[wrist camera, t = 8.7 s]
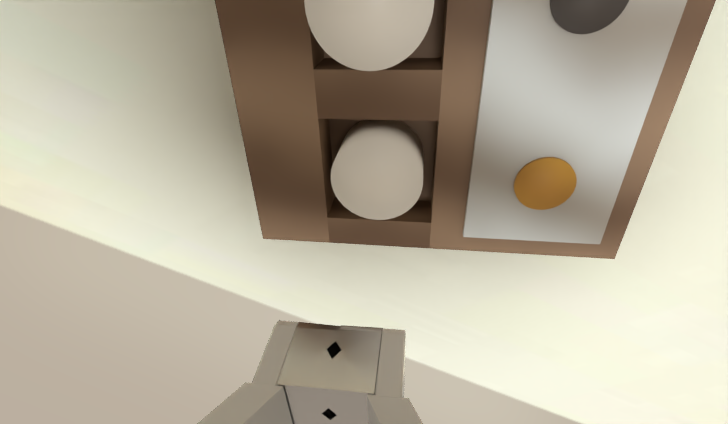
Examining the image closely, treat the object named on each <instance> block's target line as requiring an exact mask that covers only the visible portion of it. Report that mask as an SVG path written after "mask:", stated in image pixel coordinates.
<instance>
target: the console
mask: <svg viewBox="0 0 728 424" xmlns="http://www.w3.org/2000/svg"><path fill="white" fill-rule="evenodd" d="M715 1H716V0H434V9H433V15H432V19H431V23H430V26H429V28H428V31H427V33H426V35H425V37H424V39H423V40H422V42H421V43H420V45H419V46H418V47H417V48H416V50H415V51H414V52H413V53H412V54H411V55H410V56H408V57H407V58H406V59H405V60H403V61H402V62H400V63H399V64H397V65H395V66H393V67H390V68H387V69H383V70H378V71H361V70H356V69H352V68H349V67H347V66H345V65H343V64H341V63H339V62H337V61H336V60H334V59H333V58H332V57H331V56H329V55H328V54H327V53H326V52H325V51H324V50H323V48H322V47H321V46H320V45H319V43H318V42H317V40H316V39H315V37H314V35H313V33H312V31H311V29H310V26H309V24H308V20H307V17H306V12H305V5H304V0H215V3H216V8H217V13H218V18H219V23H220V28H221V33H222V38H223V43H224V48H225V52H226V57H227V62H228V67H229V72H230V77H231V82H232V87H233V92H234V97H235V102H236V107H237V112H238V117H239V122H240V127H241V131H242V136H243V141H244V146H245V151H246V156H247V161H248V166H249V171H250V176H251V181H252V186H253V191H254V196H255V201H256V205H257V210H258V215H259V220H260V225H261V230H262V235H263V239H279V240H296V241H314V242H331V243H348V244H366V245H383V246H400V247H418V248H435V249H452V250H470V251H487V252H504V253H522V254H539V255H556V256H574V257H591V258H608V259H615V256H616V253H617V251H618V248H619V246H620V243H621V241H622V238H623V236H624V233H625V231H626V228H627V225H628V223H629V220H630V218H631V215H632V213H633V210H634V208H635V205H636V203H637V200H638V197H639V195H640V192H641V190H642V187H643V185H644V182H645V180H646V177H647V174H648V172H649V169H650V167H651V164H652V162H653V159H654V157H655V154H656V152H657V149H658V146H659V144H660V141H661V139H662V136H663V134H664V131H665V129H666V126H667V123H668V121H669V118H670V116H671V113H672V111H673V108H674V106H675V103H676V101H677V98H678V95H679V93H680V90H681V88H682V85H683V83H684V80H685V78H686V75H687V72H688V70H689V67H690V65H691V62H692V60H693V57H694V55H695V52H696V50H697V47H698V44H699V42H700V39H701V37H702V34H703V32H704V29H705V27H706V24H707V22H708V19H709V16H710V14H711V11H712V9H713V6H714V4H715ZM362 120H399V121H401V122H403V123H405V124H406V125H408V126H409V127H410V128H411V129H412V130H413V131H414V132H415V133H416V134H417V136H418V137H419V139H420V141H421V144H422V147H423V153H424V163H423V187H422V191H421V194H420V197H419V199H418V200H417V202H416V203H415V204H414V206H413V207H412V208H411V209H409V210H408V211H407V212H405V213H404V214H402V215H400V216H398V217H395V218H391V219H386V220H373V219H367V218H364V217H361V216H358V215H356V214H354V213H352V212H351V211H349V210H348V209H347V208H345V207H344V206H343V205H342V204H341V202H340V201H339V200H338V198H337V197H336V195H335V193H334V191H333V188H332V185H331V169H332V165H333V163H334V160H335V158H336V156H337V153H338V151H339V149H340V147H341V144H342V142H343V140H344V138H345V136H346V134H347V133H348V131H349V130H350V129H351V128H352V127H353V126H354V125H356V124H357V123H359V122H360V121H362Z"/></svg>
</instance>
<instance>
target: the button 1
mask: <svg viewBox="0 0 728 424" xmlns="http://www.w3.org/2000/svg"><path fill="white" fill-rule="evenodd" d="M423 163H424V153H423V147H422V144H421V141H420V139H419V137H418V136H417V134H416V133H415V132H414V131H413V130H412V129H411V128H410V127H409V126H408V125H406V124H405V123H403V122H401V121H399V120H362V121H360V122H359V123H357V124H356V125H354V126H353V127H352V128H351V129H350V130H349V131H348V133H347V134H346V136H345V138H344V140H343V142H342V144H341V147H340V149H339V151H338V153H337V156H336V158H335V160H334V163H333V165H332V169H331V185H332V188H333V191H334V193H335V195H336V197H337V198H338V200H339V201H340V202H341V204H342V205H343V206H344V207H345V208H347V209H348V210H349V211H351V212H352V213H354V214H356V215H358V216H361V217H364V218H367V219H373V220H386V219H391V218H395V217H398V216H400V215H402V214H404V213H405V212H407V211H408V210H409V209H411V208H412V207H413V206H414V204H415V203H416V202H417V200H418V199H419V197H420V194H421V191H422V187H423Z"/></svg>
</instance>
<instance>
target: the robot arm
mask: <svg viewBox="0 0 728 424" xmlns="http://www.w3.org/2000/svg"><path fill="white" fill-rule="evenodd" d="M404 374H405V330H396V329H383V328H374V327H357V326H333V325H323V324H313V323H303V322H292V321H291V322H290V321H280V320H279V321H278V322H277V323H276V325H275V326H274V328H273V330H272V333H271V335H270V338H269V340H268V343H267V346H266V348H265V351H264V353H263V356H262V358H261V361H260V363H259V366H258V368H257V371H256V374H255V376H254V378H253V381H252V383H244V384H243V385H242V386H241V387H240V388H239V389H238V390H236V391H235V392H234V393H233V394H231V395H230V396H229V397H228V398H227V399H226V400H224V401H223V402H222V403H221V404H220V405H219V406H217V407H216V408H215V409H214V410H213V411H211V412H210V414H208V415H207V416H206V417H205V418H203V419H202V420H201V421H200V422H199V423H197V424H423V423H422V421H421V419H420V418H419V416H418V414H417V412H416V411H415V409H414V407H413V405H412V404H411V402H410V400H409V398H404Z"/></svg>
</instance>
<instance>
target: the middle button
mask: <svg viewBox="0 0 728 424" xmlns="http://www.w3.org/2000/svg"><path fill="white" fill-rule="evenodd" d="M304 5H305V12H306V17H307V20H308V24H309V26H310V29H311V31H312V33H313V35H314V37H315V39H316V40H317V42H318V43H319V45H320V46H321V47H322V48H323V50H324V51H325V52H326V53H327V54H328V55H329V56H331V57H332V58H333V59H334V60H336V61H337V62H339V63H341V64H343V65H345V66H347V67H349V68H352V69H356V70H361V71H378V70H383V69H387V68H390V67H393V66H395V65H397V64H399V63H400V62H402V61H403V60H405V59H406V58H407V57H408V56H410V55H411V54H412V53H413V52H414V51H415V50H416V48H417V47H418V46H419V45H420V43H421V42H422V40H423V39H424V37H425V35H426V33H427V31H428V28H429V26H430V23H431V19H432V15H433V9H434V0H304Z"/></svg>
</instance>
